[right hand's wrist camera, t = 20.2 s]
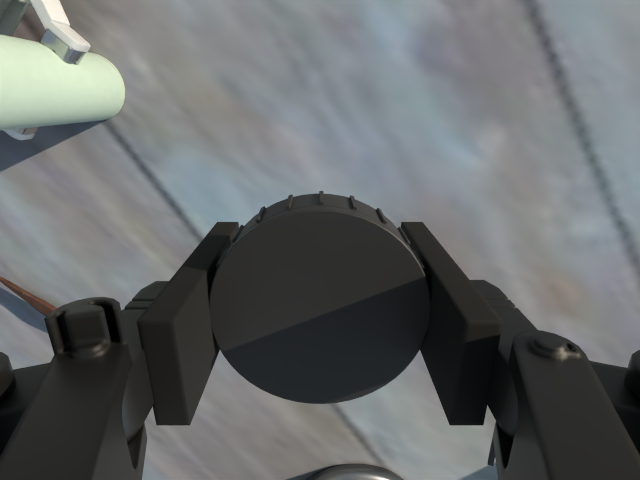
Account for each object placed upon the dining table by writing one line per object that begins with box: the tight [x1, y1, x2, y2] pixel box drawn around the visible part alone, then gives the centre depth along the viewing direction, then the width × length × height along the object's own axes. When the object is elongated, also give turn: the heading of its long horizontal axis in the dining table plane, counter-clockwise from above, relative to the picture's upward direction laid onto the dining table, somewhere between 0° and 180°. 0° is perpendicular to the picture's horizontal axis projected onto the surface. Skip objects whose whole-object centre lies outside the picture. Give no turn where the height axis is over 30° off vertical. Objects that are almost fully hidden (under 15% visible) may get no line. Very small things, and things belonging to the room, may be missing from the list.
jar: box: [0, 34, 125, 130], centre depth 24 cm, size 5×5×15 cm
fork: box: [0, 277, 57, 316], centre depth 37 cm, size 3×16×2 cm, turn 47°
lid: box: [209, 191, 431, 404], centre depth 11 cm, size 6×6×2 cm
